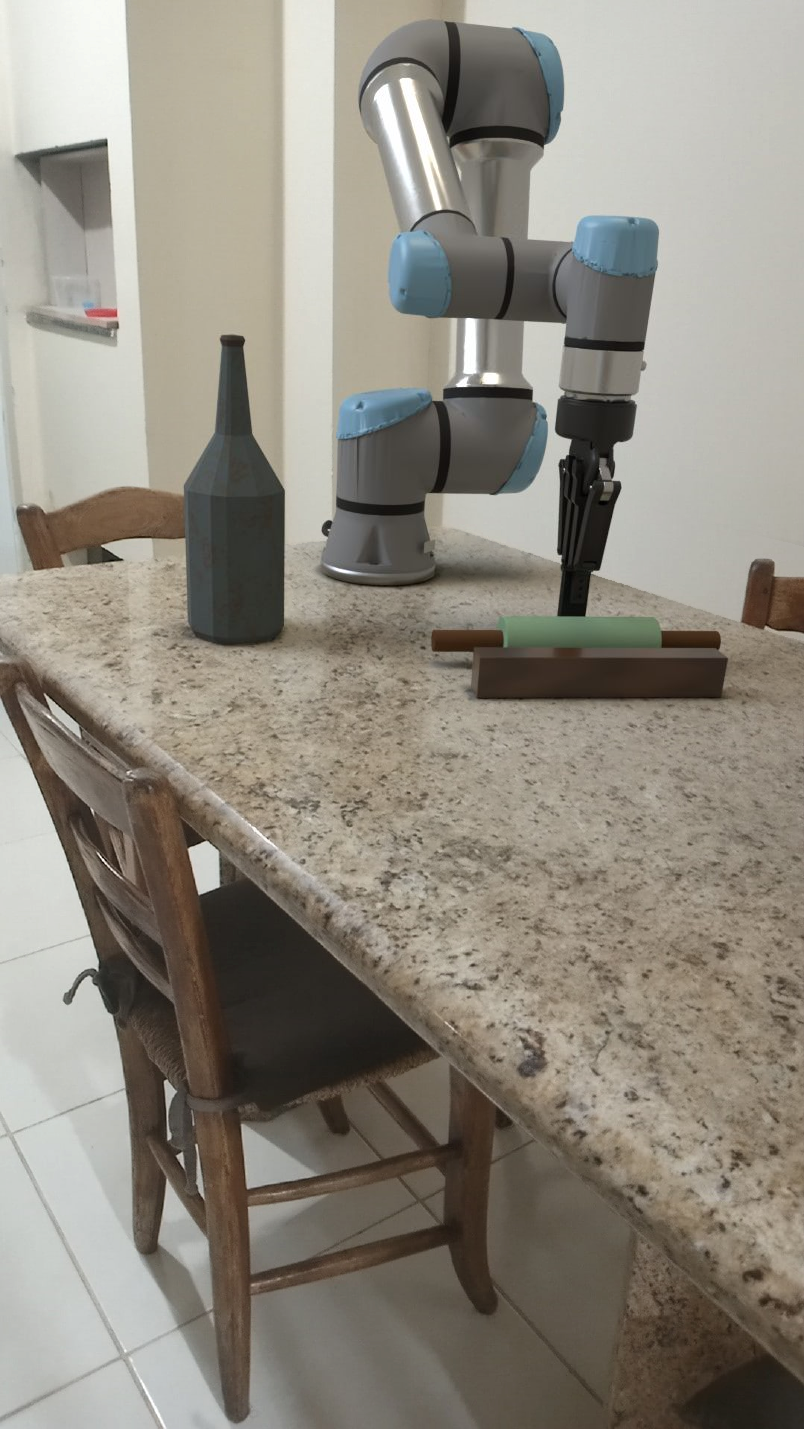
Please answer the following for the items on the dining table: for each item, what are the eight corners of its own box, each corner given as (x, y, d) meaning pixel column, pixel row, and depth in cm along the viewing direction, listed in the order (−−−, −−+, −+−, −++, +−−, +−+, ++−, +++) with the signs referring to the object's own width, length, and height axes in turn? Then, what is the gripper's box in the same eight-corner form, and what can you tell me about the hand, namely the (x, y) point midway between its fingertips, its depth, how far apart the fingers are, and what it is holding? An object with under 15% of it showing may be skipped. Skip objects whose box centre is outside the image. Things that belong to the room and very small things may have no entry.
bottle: (302, 631, 111) (306, 337, 100) (238, 652, 104) (234, 337, 92) (234, 612, 116) (230, 331, 105) (168, 630, 109) (157, 330, 98)
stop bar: (476, 698, 95) (480, 657, 93) (470, 686, 98) (473, 647, 96) (721, 697, 98) (728, 658, 97) (708, 686, 101) (715, 647, 99)
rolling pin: (433, 605, 102) (427, 637, 106) (439, 644, 99) (432, 675, 103) (718, 607, 106) (701, 638, 110) (731, 644, 103) (714, 675, 107)
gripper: (659, 405, 92) (623, 650, 102) (614, 389, 104) (586, 611, 113) (579, 402, 91) (550, 650, 101) (542, 386, 103) (520, 611, 112)
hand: (569, 629), depth 107 cm, fingers closed
